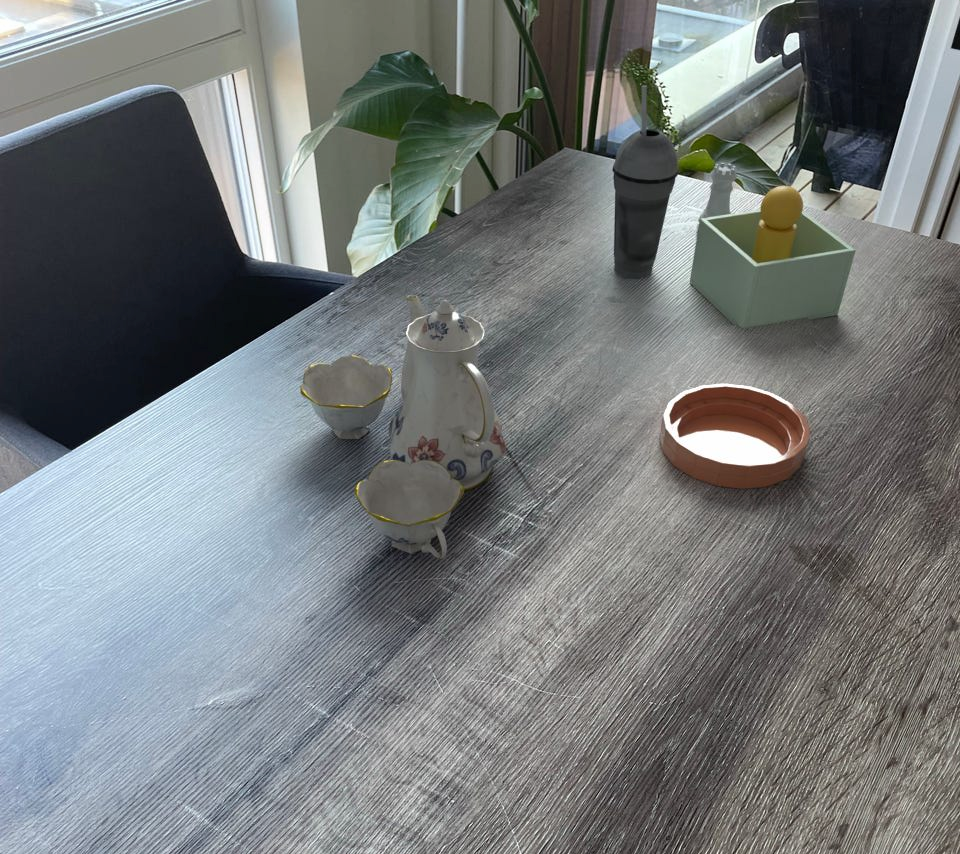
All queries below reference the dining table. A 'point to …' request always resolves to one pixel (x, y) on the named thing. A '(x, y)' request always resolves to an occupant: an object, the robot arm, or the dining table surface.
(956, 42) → the robot arm
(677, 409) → the bowl
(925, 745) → the dining table surface
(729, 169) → the rook chess piece
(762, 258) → the toy figure
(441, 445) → the chinaware
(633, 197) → the beverage cup
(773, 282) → the bin
